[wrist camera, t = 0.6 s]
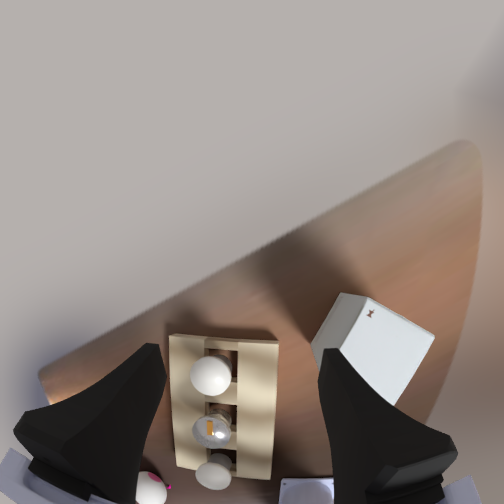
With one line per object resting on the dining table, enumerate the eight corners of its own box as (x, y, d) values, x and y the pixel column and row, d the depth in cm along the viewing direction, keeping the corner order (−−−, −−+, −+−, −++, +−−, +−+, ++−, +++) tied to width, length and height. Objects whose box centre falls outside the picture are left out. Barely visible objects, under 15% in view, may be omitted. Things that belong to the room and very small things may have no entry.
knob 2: (236, 474, 28) (230, 492, 24) (205, 470, 29) (196, 486, 25) (236, 452, 29) (229, 468, 25) (204, 447, 29) (194, 462, 25)
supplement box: (308, 344, 32) (316, 378, 19) (340, 290, 32) (368, 293, 20) (358, 371, 30) (390, 413, 18) (389, 319, 31) (438, 334, 18)
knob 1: (237, 385, 30) (229, 397, 26) (202, 381, 30) (190, 392, 26) (237, 350, 30) (230, 359, 26) (201, 347, 31) (189, 355, 27)
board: (271, 471, 30) (270, 479, 28) (181, 459, 32) (177, 466, 30) (279, 340, 32) (278, 344, 30) (175, 333, 34) (169, 335, 32)
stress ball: (152, 454, 36) (116, 460, 31) (178, 478, 30) (139, 489, 25) (154, 484, 35) (122, 491, 30) (180, 508, 29) (145, 519, 24)
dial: (236, 435, 29) (229, 452, 25) (203, 430, 29) (192, 446, 25) (236, 406, 29) (229, 422, 25) (202, 402, 30) (190, 416, 26)
